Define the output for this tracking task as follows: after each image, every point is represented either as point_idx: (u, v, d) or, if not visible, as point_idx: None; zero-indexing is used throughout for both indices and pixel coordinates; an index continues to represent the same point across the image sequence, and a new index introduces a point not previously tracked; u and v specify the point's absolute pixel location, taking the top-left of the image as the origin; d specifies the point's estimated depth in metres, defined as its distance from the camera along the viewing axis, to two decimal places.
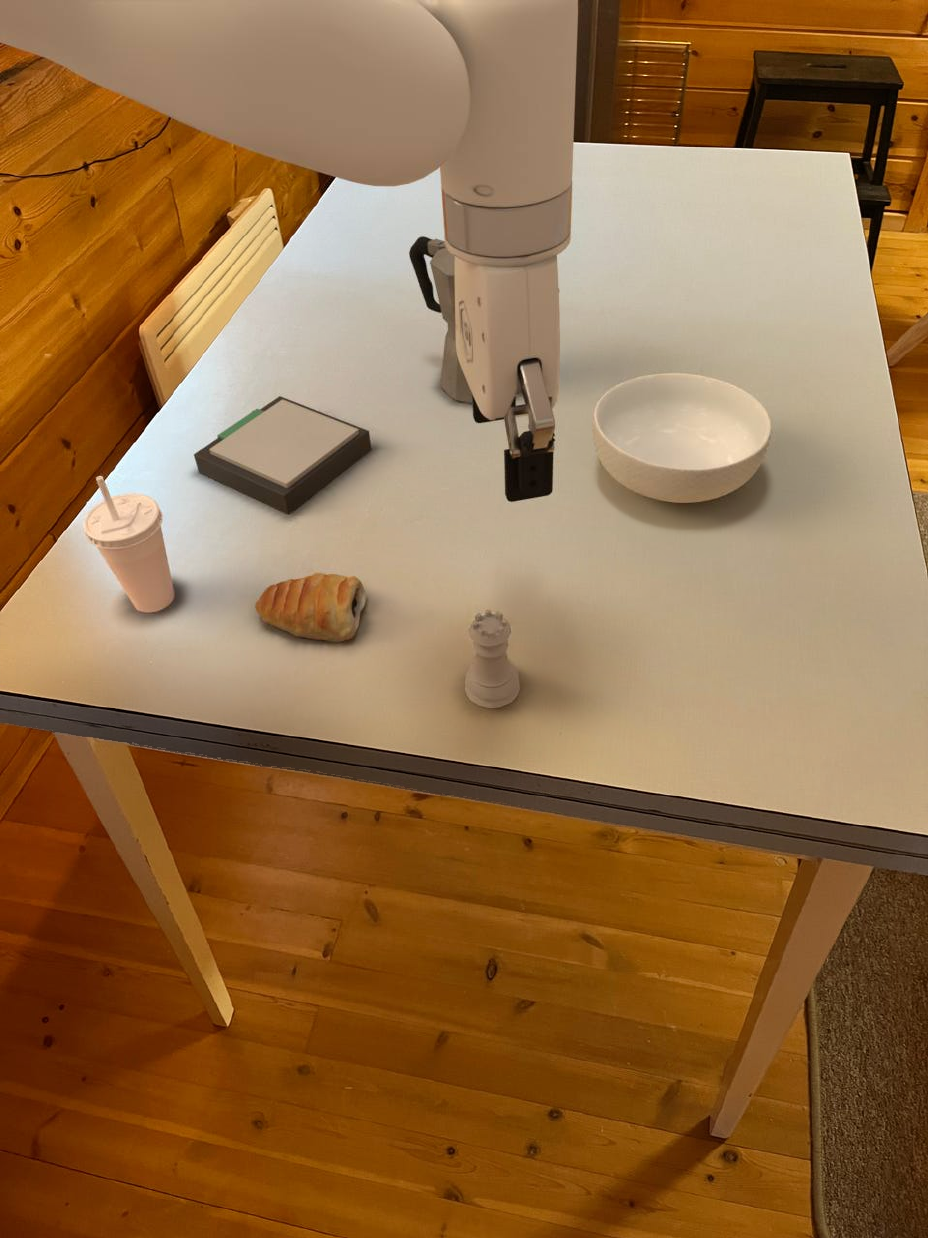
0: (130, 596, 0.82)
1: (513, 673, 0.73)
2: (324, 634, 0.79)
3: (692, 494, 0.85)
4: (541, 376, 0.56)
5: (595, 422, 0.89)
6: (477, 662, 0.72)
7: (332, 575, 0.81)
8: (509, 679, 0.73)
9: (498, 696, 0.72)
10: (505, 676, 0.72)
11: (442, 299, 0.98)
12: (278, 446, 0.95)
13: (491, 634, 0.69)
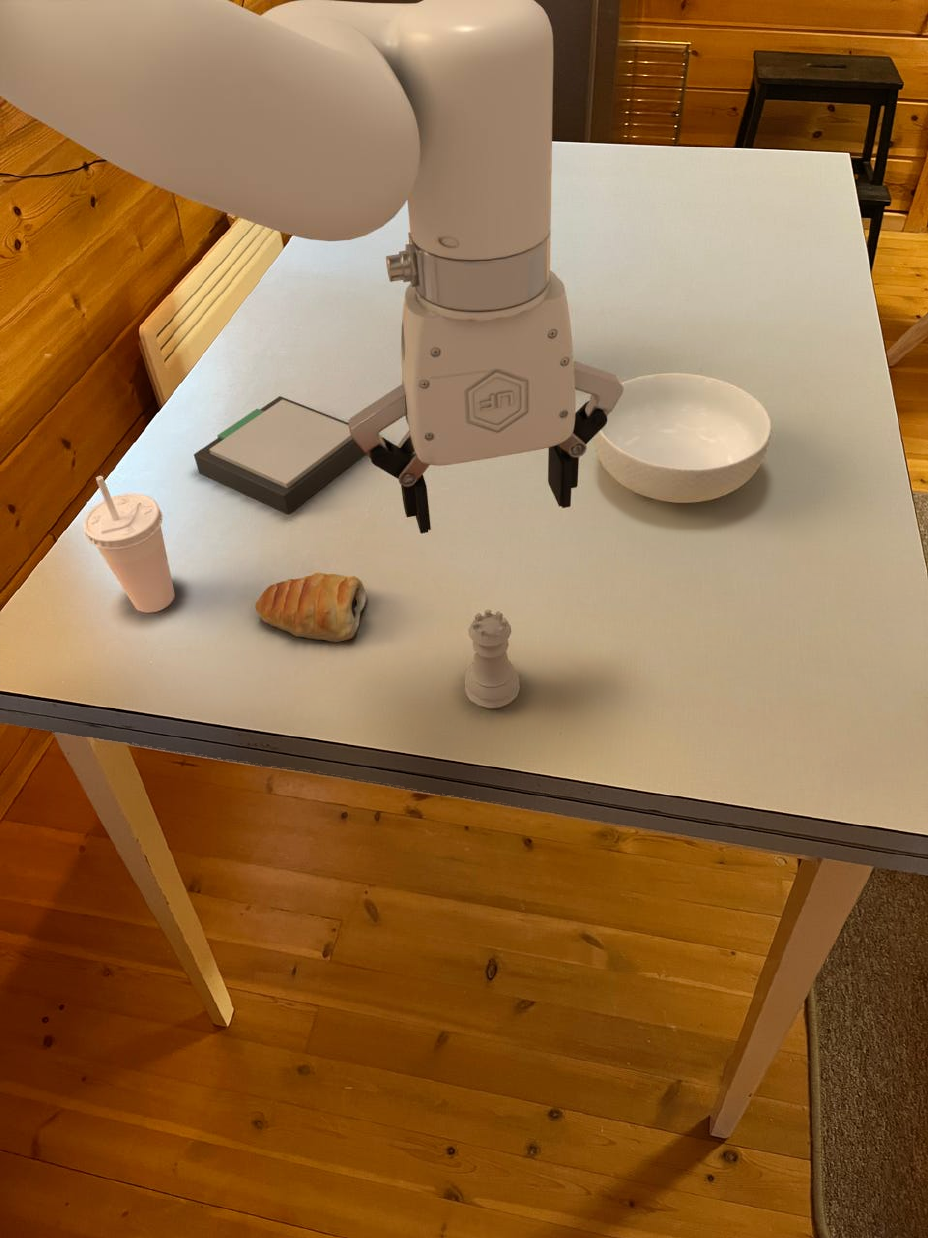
0: (130, 596, 0.82)
1: (513, 673, 0.73)
2: (324, 634, 0.79)
3: (692, 494, 0.85)
4: None
5: None
6: (477, 662, 0.72)
7: (332, 575, 0.81)
8: (509, 679, 0.73)
9: (498, 696, 0.72)
10: (505, 676, 0.72)
11: None
12: (278, 446, 0.95)
13: (491, 634, 0.69)
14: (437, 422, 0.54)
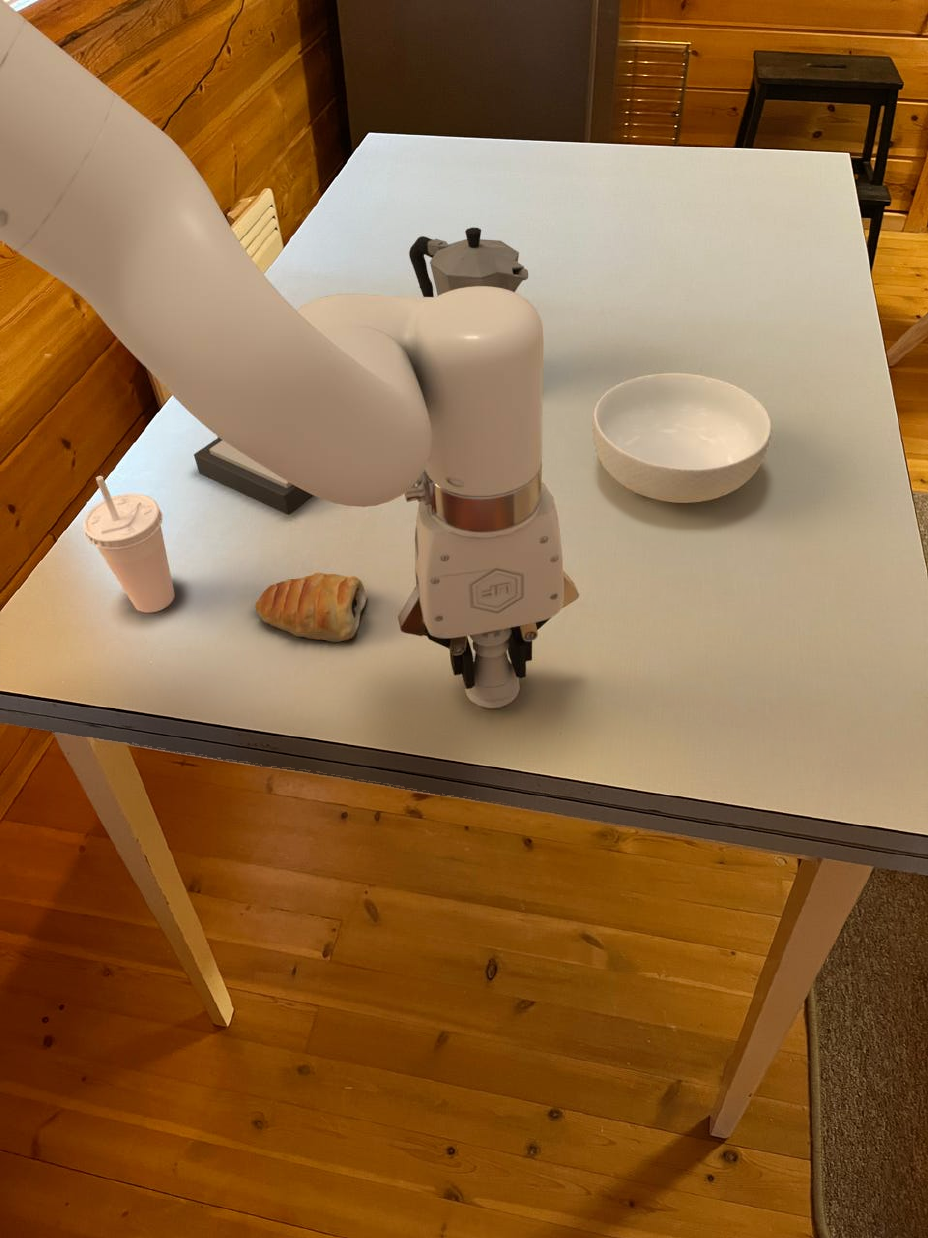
0: (130, 596, 0.82)
1: (513, 673, 0.73)
2: (325, 634, 0.79)
3: (692, 494, 0.85)
4: None
5: (595, 422, 0.89)
6: (478, 662, 0.72)
7: (332, 575, 0.81)
8: (509, 679, 0.73)
9: (498, 696, 0.72)
10: (505, 676, 0.72)
11: None
12: None
13: (491, 634, 0.69)
14: (445, 608, 0.64)
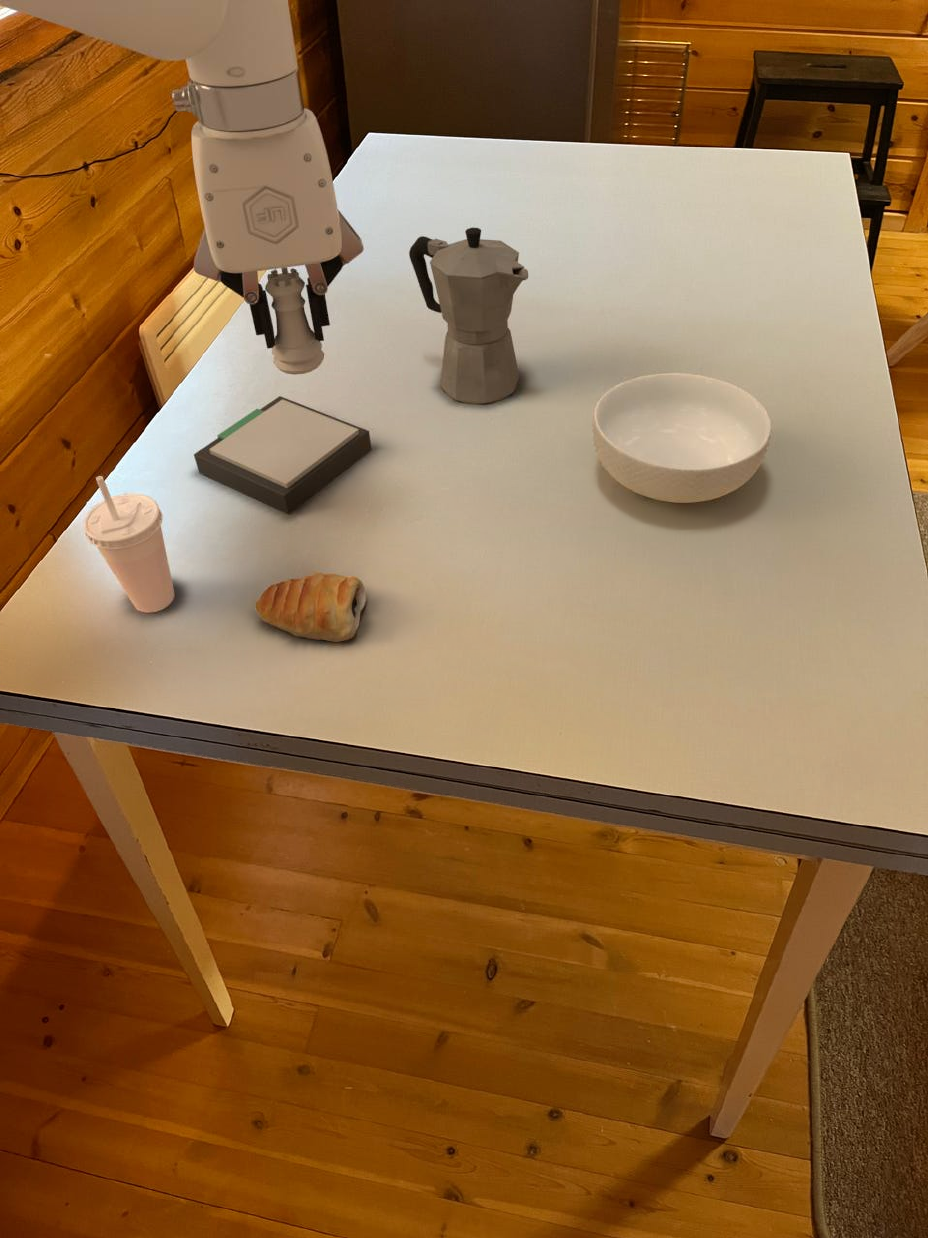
0: (130, 596, 0.82)
1: (315, 340, 0.79)
2: (325, 634, 0.79)
3: (692, 494, 0.85)
4: None
5: (595, 422, 0.89)
6: (277, 322, 0.77)
7: (332, 575, 0.81)
8: (310, 342, 0.78)
9: (298, 358, 0.78)
10: (304, 338, 0.78)
11: (442, 299, 0.98)
12: (278, 446, 0.95)
13: (281, 282, 0.74)
14: (224, 231, 0.69)
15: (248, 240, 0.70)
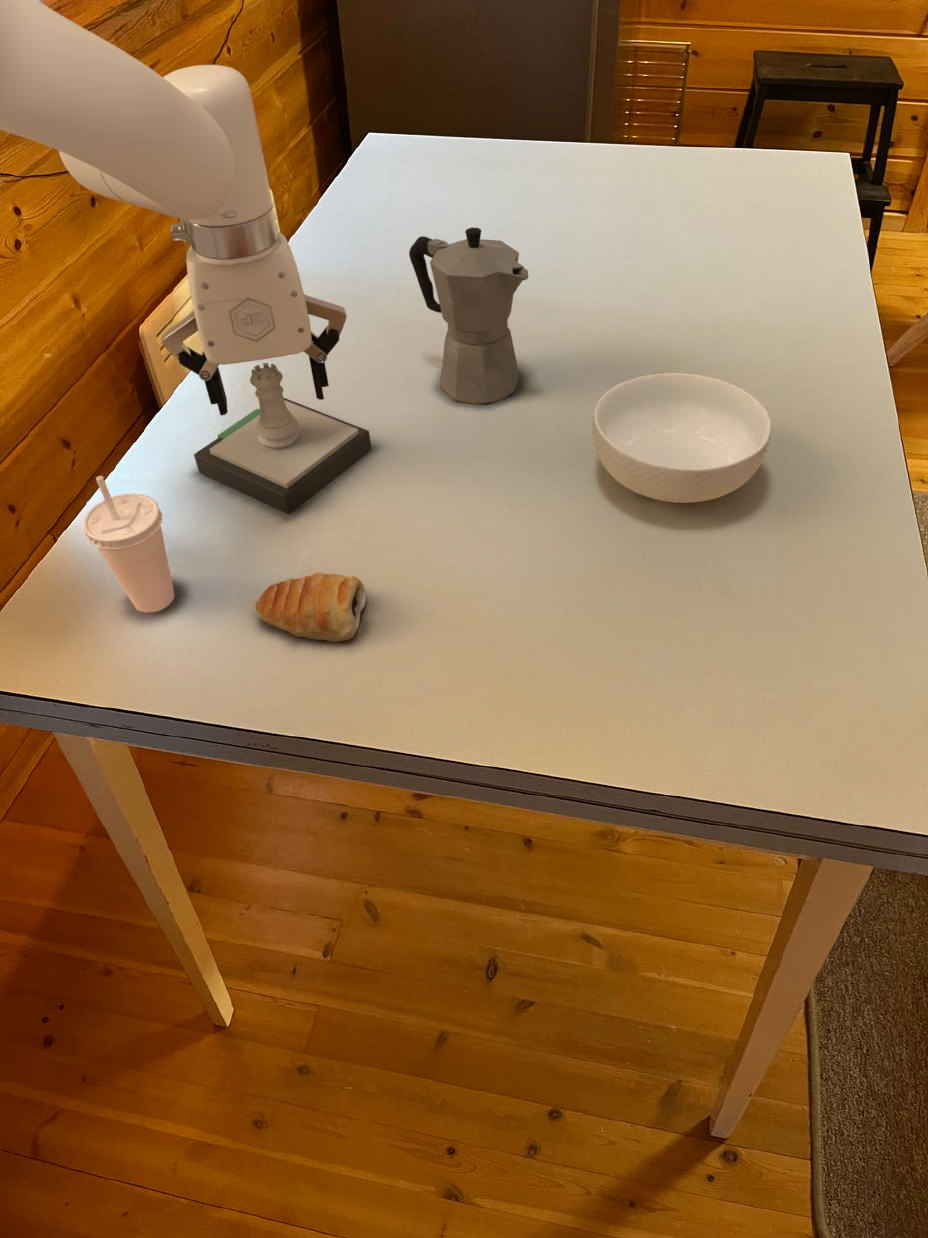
0: (130, 596, 0.82)
1: (292, 420, 0.95)
2: (325, 634, 0.79)
3: (692, 494, 0.85)
4: None
5: (595, 422, 0.89)
6: (260, 407, 0.93)
7: (332, 575, 0.81)
8: (287, 423, 0.94)
9: (278, 435, 0.94)
10: (283, 420, 0.94)
11: (442, 299, 0.98)
12: None
13: (263, 376, 0.90)
14: (214, 333, 0.84)
15: (234, 339, 0.85)
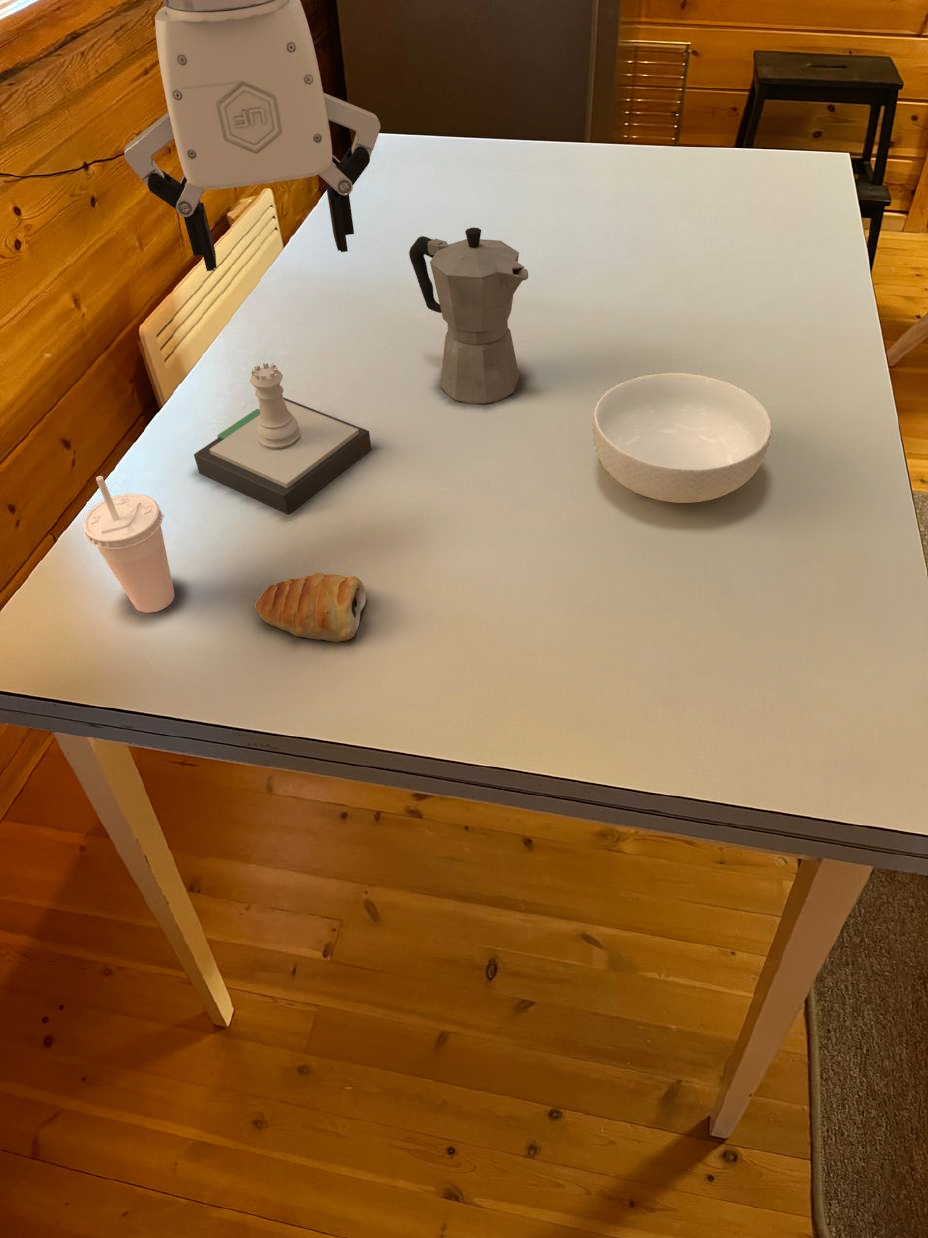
0: (130, 596, 0.82)
1: (292, 420, 0.95)
2: (325, 634, 0.79)
3: (692, 494, 0.85)
4: None
5: (595, 422, 0.89)
6: (260, 407, 0.93)
7: (332, 575, 0.81)
8: (287, 423, 0.94)
9: (278, 435, 0.94)
10: (283, 420, 0.94)
11: (442, 299, 0.98)
12: None
13: (263, 376, 0.90)
14: (196, 138, 0.60)
15: (224, 149, 0.61)
